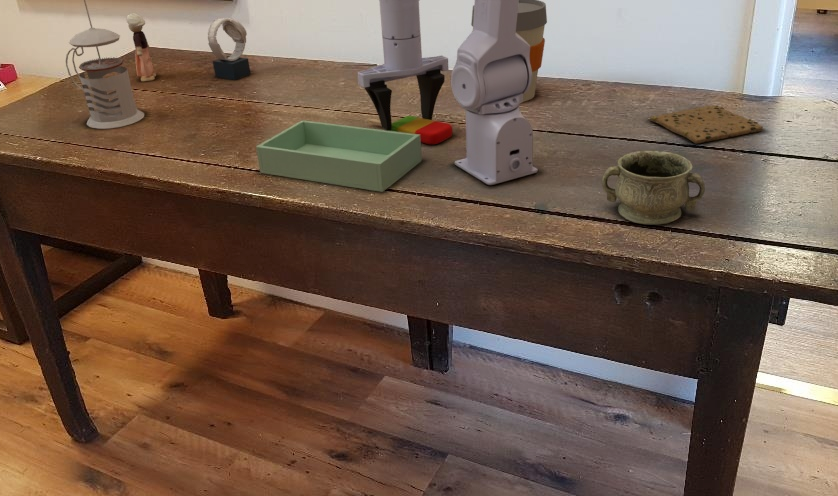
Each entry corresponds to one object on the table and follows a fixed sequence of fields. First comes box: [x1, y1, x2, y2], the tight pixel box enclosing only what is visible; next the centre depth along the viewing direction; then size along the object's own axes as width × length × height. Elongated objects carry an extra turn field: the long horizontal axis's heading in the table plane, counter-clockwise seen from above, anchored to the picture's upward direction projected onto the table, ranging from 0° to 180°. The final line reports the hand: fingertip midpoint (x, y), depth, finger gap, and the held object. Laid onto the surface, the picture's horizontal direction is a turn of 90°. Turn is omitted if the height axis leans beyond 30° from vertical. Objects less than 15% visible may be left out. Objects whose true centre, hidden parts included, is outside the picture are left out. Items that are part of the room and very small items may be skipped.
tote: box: [255, 119, 423, 193], centre depth 114 cm, size 20×12×4 cm, turn 63°
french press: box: [65, 0, 145, 129], centre depth 134 cm, size 10×12×25 cm
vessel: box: [601, 150, 706, 226], centre depth 96 cm, size 12×9×6 cm
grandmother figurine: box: [126, 13, 157, 82], centre depth 158 cm, size 8×4×13 cm, turn 17°
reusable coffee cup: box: [470, 0, 548, 103], centre depth 135 cm, size 13×13×15 cm
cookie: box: [649, 104, 764, 144], centre depth 121 cm, size 12×12×1 cm
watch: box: [207, 17, 252, 81], centre depth 157 cm, size 6×8×11 cm
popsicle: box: [368, 115, 453, 145], centre depth 125 cm, size 6×15×2 cm, turn 53°
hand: (407, 123), depth 125 cm, fingers closed on popsicle, 6 cm apart
